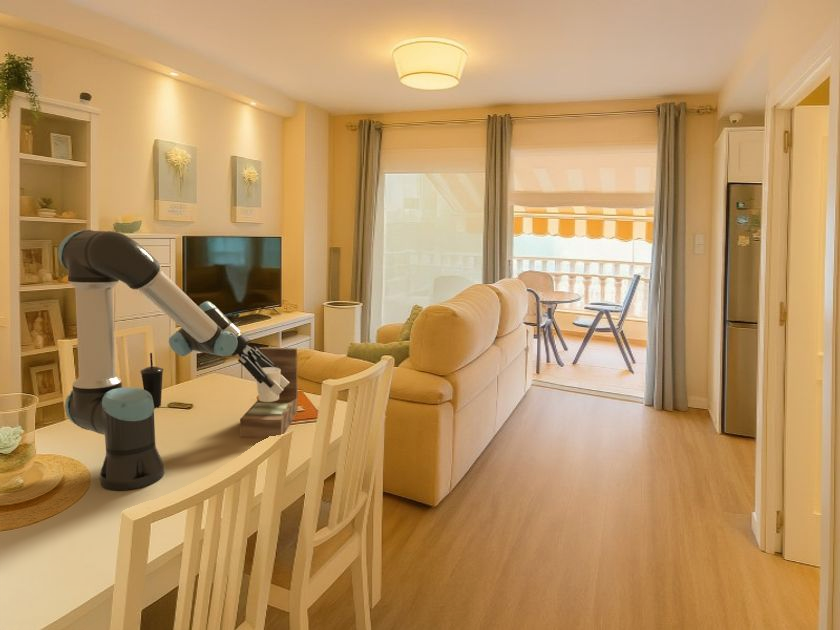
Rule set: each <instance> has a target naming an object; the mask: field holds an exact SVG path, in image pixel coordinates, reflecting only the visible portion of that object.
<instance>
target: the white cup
mask: <svg viewBox="0 0 840 630" xmlns="http://www.w3.org/2000/svg"><path fill="white" fill-rule="evenodd" d="M262 369H263V370H264V372H265V373H266V374H267V376H268V377H269V376H270V377H271V378H272V379H273V380H274V381H275V382H276V383H277V384H278V385H279V386H280V373H281V370H280V369H279V368H275V367H265V368H262ZM268 377H267V378H268ZM256 389H257V395H258V399H259V400H260V401H262V402H273V401H277V400H278V399H279V395H278V396H277V395H276V394H275V393H274V392H273V391H272V390H271V389H270V388H269V387H268V386H267V385H266V384H265V383H264V382H262V383H261V384H260V383H259V382H258V381H257V380H256Z"/></svg>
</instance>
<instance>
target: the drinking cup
mask: <svg viewBox="0 0 840 630" xmlns="http://www.w3.org/2000/svg"><path fill="white" fill-rule="evenodd" d="M149 359H150V360H149V361H150V366H147V367H145V368H143V369H141V370H140V374H141V380H142V386H143V388H142V389H144V390H146V391H148V392H149V393H150V394H151V395H152V398H153V403H154V409H157V408H160V407H161V406H162V393H163V391H162V390H163V372H164V368H162V367H159V366H153V365H154V363H153V352H150V353H149ZM159 406H160V407H159ZM156 407H157V408H156Z"/></svg>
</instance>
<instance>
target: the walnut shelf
mask: <svg viewBox="0 0 840 630" xmlns="http://www.w3.org/2000/svg"><path fill="white" fill-rule="evenodd" d="M258 350H259V351H260V352H261V353H262V354H263V355H265V356H266V357H267V358H268V359H269V360H270V361H271V362H273V363H274V364H275V365H276V366H277V368H279V369H280V370H281V373H280V374H281V375H282V376H283V377H284V378H285V379H286V380H287V381H289V382H290V383H289V384H288V385H287V386H286V387H285V388H283V387H282V386H281V385H280V387H281V388H283V389H284V390H283V391H282V392H281V393H280V394H279V399H278V400H277V401H273V402H262V401H260V400H259V398H258V400H256V402H254V404H253V405H252V406H251V407H250V408H249V409H248V410H247V411H246V412H245V413H244V414H243V415H242V416H241V418H240V419H239V426H240V427H239V428H240V429H239V431H240V438H261V439H262V438H265V439H266V437H269V436H276V435H281V434H285V433H286V432H287V430H288V429H289V427H290V425H291V424H292V422H293V421H294V419H293V417H294V415H295V414H296V412H297V410H299V408H298V401H299V399H298V398H299V397H298V348H297V347H293V348H292V347H291V348H290V347H259V348H258ZM261 368H262V367H261ZM292 420H293V421H292Z"/></svg>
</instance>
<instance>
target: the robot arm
mask: <svg viewBox="0 0 840 630" xmlns="http://www.w3.org/2000/svg"><path fill="white" fill-rule="evenodd" d="M57 256H58V261H59V263H60V265H62V267H63V268H64V269H65V270H66V271H67V282H68V283H69V285H71V286H72V287H73V288H74V291H75V313H76V338H77V341H76V342H77V358H78V359H77V361H78V362H77V364H78V377H77V379H75V380H74V382H72V390H71V391H70V394H69V395H68V396H67V397H66V399H65V402H64V403H65V405H64V410H65V415H66V416H67V419H69V420H70V422H72V423H73V425H76V426H78V427H79V428H81V429H83V430H87V431H90V432H94V433H97V434H100V435H103V436H104V442H105V457H104V459H103V464H102V466H101V469H100V474H99V484H100V485H101V487H102V488H103V489H106V490H110V491H127V490H136V489H140V488H143V487H147V486H149V485H152V484H154V483H155V482H158V481H159V480H161V479H162V477H164V475H165V465H164V462H163V460H162V457H161V456H160V453H159V451H158V449H157V444H156V428H155V408H154V403H153V398H152V395H151V394H150V393H149V392H148V391H146V390H144V388H140V387H129V386H127V387H126V386H125V387H123V382H122V381H123V380H122V379H121V378H120V377H119V376H118V375H117V374H116V358H115V357H116V356H115V354H116V353H115V327H114V298H113V297H114V295H113V289H114V288H115V286H116V285H117V284H118V283H119V281H120V282H123V283H124V284H125V285H127V287H129V289H131V290H134V291H135V290H136V291H137V290H138V291H139V292H140V293H142V294H143V295H144V297H146V298H147V299H149V300H150V302H152V303H153V304H154V305H156V307H158V309H160V310H161V311H162V312H163V313H164V314H166V315H167V317H169V319H171V320H172V321H173V322H175V323H176V324H177V325H178V326H179V327H180V328H179V329H178V330H176V332H174V333H173V334H172V335H171V336H170V337H169V339H168V344H169V346H170V348H171V350H172V351H173V352H174V353H175V354H177V356H180V357H185V356H187V355H189V354H191V353H192V352H193V351H194V352H199V353H205V354H211V355H215V356H217V357H220V356H221V357H228V356H232V357H236V356H237V355H238V356H239V359H237V361H238V363H239V364H241V365H242V366H243V367H244V368H245V369H246V370H247V371H248V372H249V373H250V374H251V376H252V377H253V378H254V379H255V380H256V382H257V381H258V382H259V383H260V384H261V383H262V382H264V383H265V384H266V385H267V386H268V387H269V388H270V389H271V390H272V391H273V392H274V393H275V394H276V395H277V396H278V395H279V394H280V393H281V392H282V391H283V390H284V389H283V388H285V387H286V386H287V385H288V384H289V383H290V382H289V381H287V380H286V379H285V378H284V377H283V376H282V375H281V374H280V385H281V386H282V387H283V388H281V387H280V386H279V385H278V384H277V383H276V382H275V381H274V380H273V379H272V378H271V377H270V376H269V377H268V376H267V374H266V373H265V372H264V370H263V369H262V368H265V367H275V368H277V366H276V365H275V364H274V363H273V362H271V361H270V360H269V359H268V358H267V357H266V356H265V355H263V354H262V353H261V352H260V351H259V348H258V347H257V346H254V347H251V346H249V344H250V342H251V339H250V338H249V337H248V336H246V335H245V334H244V333H242V331H241V329H239V328H238V327H237V326H236V325H235V324H234V323H233V322H232V321H231V320H230V319H229V318H228V317H227V316H226V315H225V314H224V313H223V312H222V311H221V310H220V309H219V308H218V307H217V306H216V305H215V304H213V303H212V302H211V301H209V300H207V301H204V302H202V303H200V304H199V305H197V303H195V302H194V301H193V300H192V298H190V296H188V295H187V294H186V292H184V291H183V290H182V289H181V288H180V287H179V286H178V285H177V284H176V283H175V282H174V281H173V280H172V279H171V278H170V277H169V276H167V275H166V274H165V273H164V271H162V270H161V269H162V266H161V264H160V262H159V261H158V260H157V259H156V258H155V257H154V256H153V255H152V254H151V253H150V252H148V251H147V250H146V249H145V247H143V246H141V245H140V244H139V242H137V241H135V240H134V239H132V238H131V237H129V236H128V235H126V234H123V233H121V232H118V231H114V230H113V231H112V230H111V231H110V230H108V231H107V230H106V231H104V230H92V229H85V230H78V231H77V230H76V231H75V232H71V233H69V234H68V235H67V236H65V238H63V239H62V240H61V243H60V245H59V247H58V250H57ZM261 367H262V368H261ZM267 377H268V378H267Z"/></svg>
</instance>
